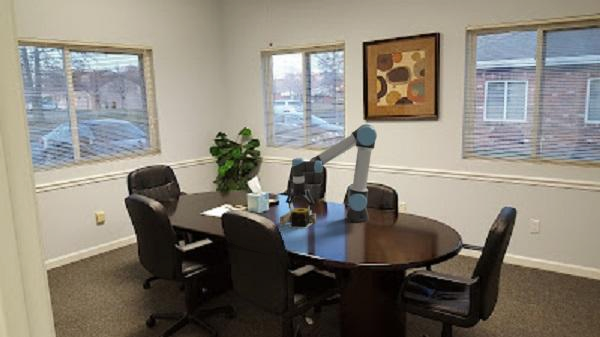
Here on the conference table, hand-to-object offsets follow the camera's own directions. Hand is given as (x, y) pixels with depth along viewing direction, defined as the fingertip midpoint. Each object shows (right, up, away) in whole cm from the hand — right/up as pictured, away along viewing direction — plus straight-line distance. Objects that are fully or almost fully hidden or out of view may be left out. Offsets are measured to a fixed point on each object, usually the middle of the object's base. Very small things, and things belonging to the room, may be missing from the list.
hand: (300, 214), depth 296 cm
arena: (-2, -7, +4) cm, 8 cm away
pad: (0, -7, +1) cm, 8 cm away
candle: (0, -7, +1) cm, 7 cm away
